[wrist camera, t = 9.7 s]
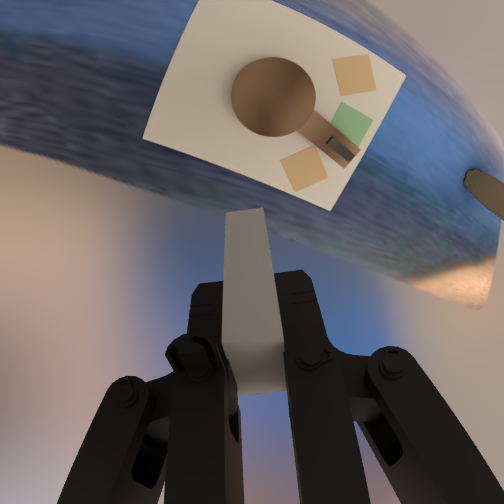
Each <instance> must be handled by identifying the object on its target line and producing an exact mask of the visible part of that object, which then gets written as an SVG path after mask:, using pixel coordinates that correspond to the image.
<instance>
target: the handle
mask: <svg viewBox="0 0 504 504" xmlns="http://www.w3.org/2000/svg"><path fill="white" fill-rule="evenodd" d="M466 174H467V175H466V178H465V180H464V184H465V185H466V186H467V189H468V190H469V191H470V192H471V193H472V194H473V195H474V196H475V197H476V199H477V200H478V201H479V202H480V203H482V204H483V205H484V206H485V207H486V208H487V209H489V210H490V211H491V212H493V213H494V214H495V215H497V216H498V217H499V218H501V219H502V220H504V184H503V183H502V182H500V181H499V180H497V179H496V178H494V177H492V176H490V175H488V174H486V173H483V172H482V171H480V170H478V169H474V170H472V171H470V170H469V171H468V172H467V173H466Z"/></svg>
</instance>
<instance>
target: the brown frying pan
mask: <svg viewBox="0 0 504 504" xmlns="http://www.w3.org/2000/svg"><path fill="white" fill-rule="evenodd" d="M315 102H316V92H315V87H314V84H313V82H312V80H311V78H310V76H309V75H308V73H307V72H306V71H305V70H304V69H303V68H302V67H300V66H299V65H298V64H296V63H294V62H292V61H290V60H287V59H284V58H279V57H267V58H262V59H259V60H256V61H253V62H251V63H249V64H247V65H246V66H245V67H243V68H242V69H241V70H240V72H239V73H238V74H237V76H236V78H235V80H234V83H233V86H232V91H231V103H232V107H233V110H234V113H235V115H236V117H237V118H238V120H239V121H240V122H241V123H242V124H243V125H244V126H245V127H246V128H247V129H249V130H250V131H252V132H254V133H256V134H258V135H262V136H267V137H281V136H285V135H289V134H291V133H293V132H295V131H297V132H299V133H300V134H301V135H302V136H304V137H305V138H306V139H308V140H309V141H310V142H312V143H313V144H314V145H315V146H317V147H318V148H319V149H320V150H322V151H323V152H324V153H325V154H327V155H328V156H329V157H330V158H332V159H333V160H334V161H335V162H336V163H338V164H339V165H340V166H341V167H342V168H344V169H345V168H346V166H347V165H348V164H349V163H350V162H351V161H352V160H353V158H354V157H355V156H356V155H357V154H358V153H359V152H360V150H361V149H360V148H358V147H357V146H356V145H355V144H354V143H353V142H352V141H351V140H349V139H348V138H347V137H346V136H345V135H344V134H343V133H341V132H340V131H339V130H338V129H337V128H336V127H334V126H333V125H332V124H331V123H330V122H328V121H327V120H326V119H325V118H323V117H322V116H321V115H320V114H319V113H317V112H316V111H315V110H314V107H315Z"/></svg>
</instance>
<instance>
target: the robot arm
mask: <svg viewBox="0 0 504 504" xmlns="http://www.w3.org/2000/svg"><path fill="white" fill-rule="evenodd" d="M190 308H191V309H190V313H189V320H188V329H187V334H183V335H181V336H180V337H178V338H176V339H174V340H173V342H172V343H171V344H170V345H169V346H168V348H167V350H166V353H165V356H166V358H167V359H168V361H169V363H170V365H171V367H172V368H173V370H174V371H173V372H171V373H170V374H168V375H166V376H164V377H161V378H158V379H155V380H152V381H149V382H144V381H143V380H142V379H140V378H138V377H136V376H125V377H122V378H119V379H118V380H116V381H115V382H113V383H112V384H111V386H110V387H109V388H108V390H107V392H106V394H105V396H104V398H103V400H102V402H101V404H100V406H99V408H98V410H97V412H96V414H95V417H94V419H93V421H92V423H91V425H90V427H89V430H88V432H87V434H86V436H85V438H84V441H83V443H82V445H81V447H80V449H79V452H78V454H77V456H76V459H75V461H74V463H73V466H72V468H71V470H70V472H69V475H68V477H67V480H66V482H65V484H64V487H63V489H62V492H61V494H60V497H59V499H58V502H57V504H157V503H158V500H159V497H160V494H161V491H162V488H163V485H164V481H165V493H164V504H244V488H243V487H244V486H243V464H242V439H241V413H240V409H239V406H238V396H237V391H238V393H239V395H251V394H261V393H270V392H278V391H286V390H287V395H288V405H289V417H290V422H291V429H292V438H293V446H294V454H295V463H296V471H297V481H298V489H299V498H300V504H371V503H370V498H369V493H368V488H367V483H366V478H365V473H364V468H363V463H362V458H361V454H360V449H359V445H358V440H357V436H356V431H355V427H354V423H353V421H357V423H358V425H359V427H360V429H361V431H362V432H363V434H364V436H365V438H366V440H367V441H368V443H369V445H370V447H371V449H372V451H373V452H374V454H375V456H376V458H377V460H378V462H379V463H380V465H381V467H382V469H383V471H384V473H385V474H386V476H387V478H388V480H389V481H390V484H391V485H392V487H393V489H394V491H395V493H396V495H397V497H398V498H399V500H400V502H401V504H504V491H503V489H502V487H501V486H500V484H499V482H498V481H497V479H496V477H495V476H494V474H493V473H492V471H491V469H490V467H489V466H488V465H487V463H486V461H485V460H484V458H483V456H482V455H481V453H480V452H479V450H478V449H477V447H476V446H475V444H474V443H473V441H472V440H471V438H470V436H469V435H468V433H467V432H466V430H465V429H464V427H463V426H462V424H461V423H460V422H459V420H458V419H457V417H456V416H455V414H454V413H453V411H452V410H451V409H450V407H449V406H448V404H447V403H446V401H445V400H444V398H443V397H442V396H441V394H440V393H439V391H438V390H437V389H436V387H435V386H434V384H433V383H432V382H431V380H430V379H429V378H428V376H427V375H426V374H425V373H424V371H423V369H422V368H421V367H420V365H419V364H418V363H417V361H416V360H415V359H414V357H413V356H412V355H411V354H410V353H409V352H408V351H406V350H404V349H402V348H399V347H394V346H393V347H392V346H387V347H383V348H380V349H378V350H377V351H375V352H374V353H373V354H372V355H371V356H359V355H351V354H346V353H344V352H341V351H339V350H338V349H337V348H335V347H334V346H333V345H332V344H331V343H330V341H329V339H328V337H327V334H326V330H325V326H324V322H323V319H322V315H321V311H320V308H319V304H318V302H317V297H316V294H315V290H314V287H313V283H312V280H311V278H310V277H309V276H308V275H307V274H306V273H305V272H304V271H303V270H297V271H289V272H281V273H275V274H274V272H273V266H272V260H271V253H270V247H269V241H268V235H267V229H266V223H265V217H264V211H263V208H256V209H249V210H241V211H234V212H227V213H226V229H225V252H224V280H223V281H218V282H210V283H201V284H199V285H198V286H197V288H196V289H195V291H194V292H193V294H192V298H191V305H190Z"/></svg>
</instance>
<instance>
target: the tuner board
mask: <svg viewBox="0 0 504 504" xmlns="http://www.w3.org/2000/svg"><path fill="white" fill-rule="evenodd" d="M267 57H279V58H284V59H287V60H290V61H292V62H294V63H296V64H298V65H299V66H300V67H302V68H303V69H304V70H305V71H306V72H307V73H308V75H309V76H310V78H311V80H312V82H313V84H314V87H315V92H316V102H315V107H314V110H315V111H316V112H317V113H319V114H320V115H321V116H322V117H323V118H325V119H326V120H327V121H328V122H330V123H331V124H332V125H333V126H334V127H336V128H337V129H338V130H339V131H340V132H341V133H343V134H344V135H345V136H346V137H347V138H348V139H349V140H351V141H352V142H353V143H354V144H355V145H356V146H357V147H358V148H360V149H361V150H360V152H359V153H358V154H357V155H356V156H355V157H354V158H353V160H352V161H351V162H350V163H349V164H348V165H347V166H346V168H345V169H344V168H342V167H341V166H340V165H339V164H338V163H336V162H335V161H334V160H333V159H332V158H330V157H329V156H328V155H327V154H325V153H324V152H323V151H322V150H320V149H319V148H318V147H317V146H315V145H314V144H313V143H312V142H310V141H309V140H308V139H306V138H305V137H304V136H302V135H301V134H300V133H299V132H297V131H295V132H293V133H291V134H289V135H285V136H281V137H267V136H262V135H258V134H256V133H254V132H252V131H250V130H249V129H247V128H246V127H245V126H244V125H243V124H242V123H241V122H240V121H239V120H238V118H237V117H236V115H235V113H234V110H233V107H232V103H231V91H232V86H233V83H234V80H235V78H236V76H237V74H238V73H239V72H240V70H241V69H242V68H243V67H245V66H246V65H247V64H249V63H251V62H253V61H256V60H259V59H262V58H267ZM405 77H406V75H404V74H403V73H402V72H400V71H399V70H397V69H396V68H395V67H393V66H392V65H390V64H389V63H387V62H386V61H384V60H383V59H381V58H380V57H378V56H377V55H375V54H374V53H372V52H370V51H369V50H367V49H366V48H364V47H362V46H361V45H359V44H357V43H356V42H354V41H352V40H351V39H349V38H347V37H345V36H344V35H342V34H340V33H338V32H337V31H335V30H333V29H331V28H329V27H327V26H325V25H323V24H322V23H320V22H318V21H316V20H314V19H312V18H310V17H307V16H305V15H303V14H301V13H299V12H297V11H295V10H293V9H290V8H288V7H286V6H284V5H281V4H279V3H276V2H274V1H272V0H199V1H198V3H197V5H196V7H195V9H194V11H193V13H192V15H191V17H190V19H189V21H188V24H187V26H186V28H185V30H184V32H183V34H182V37H181V39H180V41H179V43H178V45H177V48H176V50H175V52H174V55H173V57H172V59H171V62H170V64H169V67H168V69H167V72H166V74H165V77H164V79H163V82H162V84H161V87H160V90H159V92H158V95H157V98H156V100H155V103H154V106H153V109H152V112H151V114H150V117H149V120H148V123H147V126H146V129H145V132H144V135H143V138H142V139H145V140H148V141H151V142H154V143H157V144H160V145H163V146H166V147H169V148H172V149H175V150H178V151H181V152H183V153H186V154H189V155H192V156H195V157H197V158H200V159H203V160H206V161H208V162H211V163H214V164H216V165H219V166H222V167H224V168H227V169H230V170H232V171H235V172H237V173H240V174H242V175H245V176H248V177H250V178H253V179H255V180H258V181H260V182H263V183H265V184H268V185H270V186H272V187H275V188H277V189H280V190H282V191H285V192H287V193H289V194H292V195H294V196H296V197H299V198H301V199H304V200H306V201H308V202H310V203H313V204H315V205H317V206H320V207H322V208H324V209H326V210H329V211H331V209H332V207H333V206H334V204H335V202H336V201H337V199H338V197H339V196H340V194H341V192H342V191H343V189H344V187H345V185H346V184H347V182H348V180H349V179H350V177H351V175H352V173H353V172H354V170H355V168H356V166H357V165H358V163H359V161H360V159H361V158H362V156H363V154H364V152H365V151H366V149H367V147H368V145H369V144H370V142H371V140H372V138H373V136H374V135H375V133H376V131H377V129H378V127H379V126H380V124H381V122H382V120H383V118H384V117H385V115H386V113H387V111H388V109H389V107H390V106H391V104H392V102H393V100H394V98H395V96H396V94H397V92H398V91H399V89H400V87H401V85H402V83H403V81H404V79H405Z"/></svg>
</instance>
